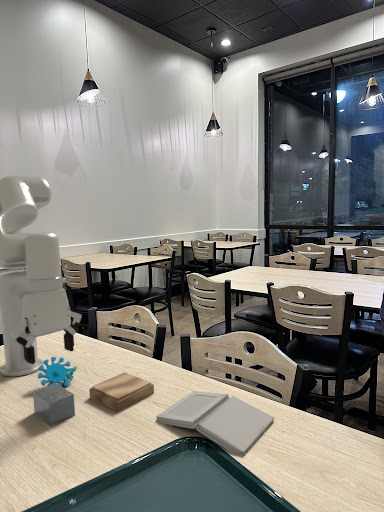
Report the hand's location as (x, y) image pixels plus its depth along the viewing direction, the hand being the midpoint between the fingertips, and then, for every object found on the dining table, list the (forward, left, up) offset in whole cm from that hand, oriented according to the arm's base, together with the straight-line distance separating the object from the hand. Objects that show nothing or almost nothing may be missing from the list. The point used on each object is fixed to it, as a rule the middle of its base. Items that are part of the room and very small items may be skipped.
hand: (50, 356), depth 84 cm
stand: (+5, +16, -15) cm, 22 cm away
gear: (-15, +9, -15) cm, 23 cm away
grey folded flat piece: (+32, +21, -16) cm, 42 cm away
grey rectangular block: (-1, 0, -15) cm, 15 cm away
